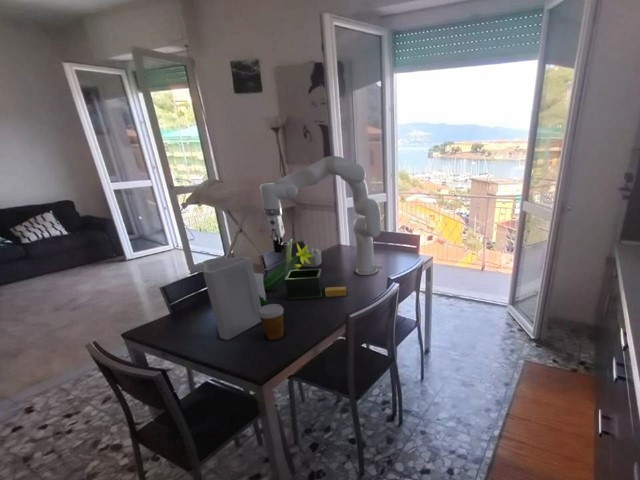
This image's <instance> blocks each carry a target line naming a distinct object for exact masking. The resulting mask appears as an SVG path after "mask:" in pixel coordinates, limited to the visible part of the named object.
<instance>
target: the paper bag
mask: <svg viewBox="0 0 640 480" xmlns="http://www.w3.org/2000/svg"><path fill="white" fill-rule="evenodd" d="M201 271H202V275H203V278H204V282H205V285H206V289H207V293H208V298H209V301H210V305H211V308H212V312H213V317H214V320H215V324H216V328H217V332H218V335H219V338H220V339H223V340H225V341H229V340H231V339H233V338H234V337H236V336H238V335H241V334H242V333H243V332H245V331H247V330H249V329H251V328H252V327H255V326H256V325H258V324H259V323H262V321H261V319H260V317H259V315H258V312H259V309H260V308H261V303H260V298H259V293H258V288H257V283H256V278H255V273H256V272H255V268H254V264H253V259H252V257H249V256H234V257H221V258H209V259H206V260H204V261H203V262H202V270H201Z"/></svg>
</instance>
